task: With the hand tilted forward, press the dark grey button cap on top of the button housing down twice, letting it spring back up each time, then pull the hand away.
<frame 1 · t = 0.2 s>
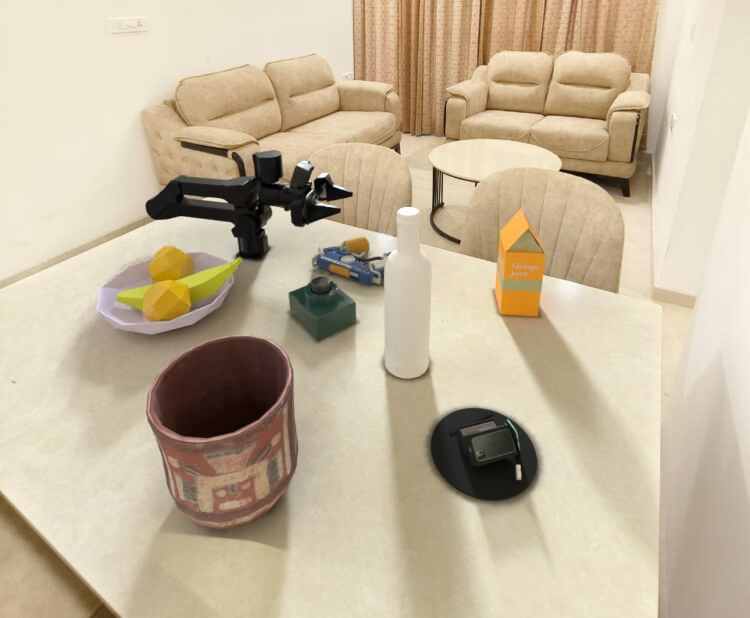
hand: (346, 202, 114), 17 cm above the table, tool horizontal, fingers open, 9 cm apart
dark grey button cap: (320, 285, 99), point 8 cm above the table, slide at 0.1 cm
button housing: (322, 317, 102), on the table
pottery: (238, 485, 68), on the table
blue toy blaster: (359, 266, 120), on the table
fruit bowl: (177, 309, 105), on the table
black round electronic device: (482, 451, 72), on the table
bottle: (406, 364, 89), on the table
orange juice: (515, 303, 106), on the table
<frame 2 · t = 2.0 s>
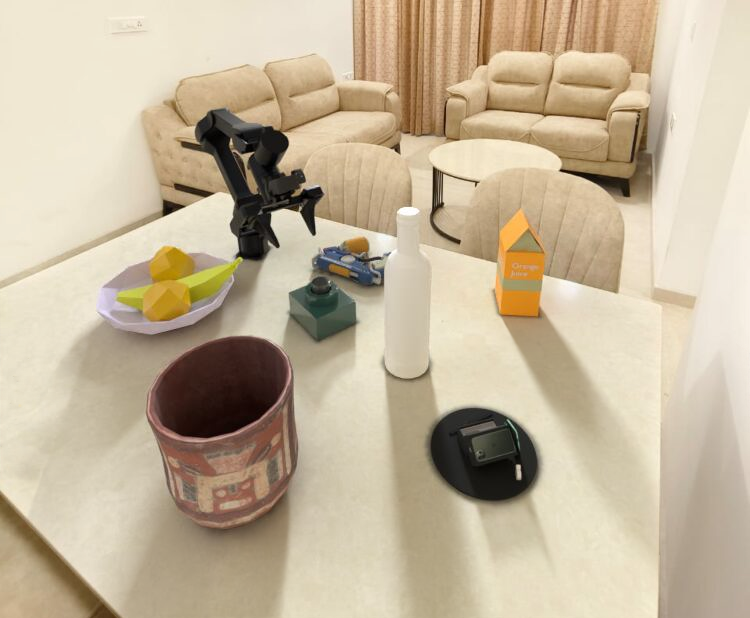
hand: (297, 241, 103), 14 cm above the table, tool tilted 45°, fingers open, 8 cm apart
nothing on the table moved.
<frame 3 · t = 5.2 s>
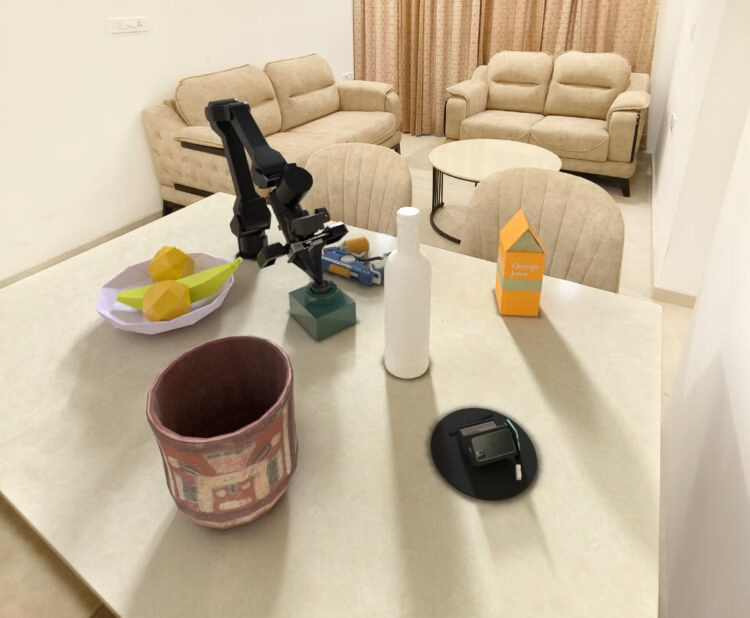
hand: (320, 283, 99), 8 cm above the table, tool tilted 45°, fingers closed, pressing on dark grey button cap
dark grey button cap: (321, 289, 99), point 7 cm above the table, slide at -0.7 cm, touching gripper
everything else where it was.
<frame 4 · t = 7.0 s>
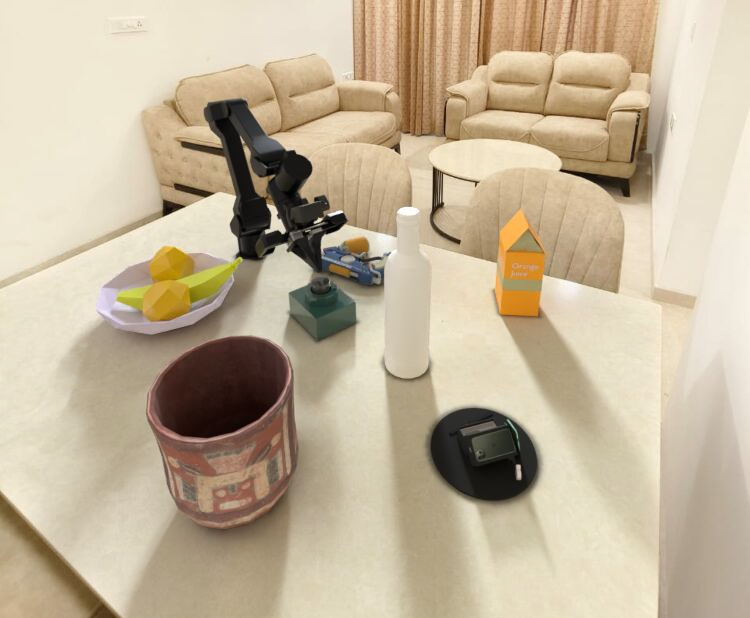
hand: (320, 271, 98), 11 cm above the table, tool tilted 45°, fingers closed
dark grey button cap: (320, 285, 99), point 8 cm above the table, slide at 0.1 cm
everything else where it was.
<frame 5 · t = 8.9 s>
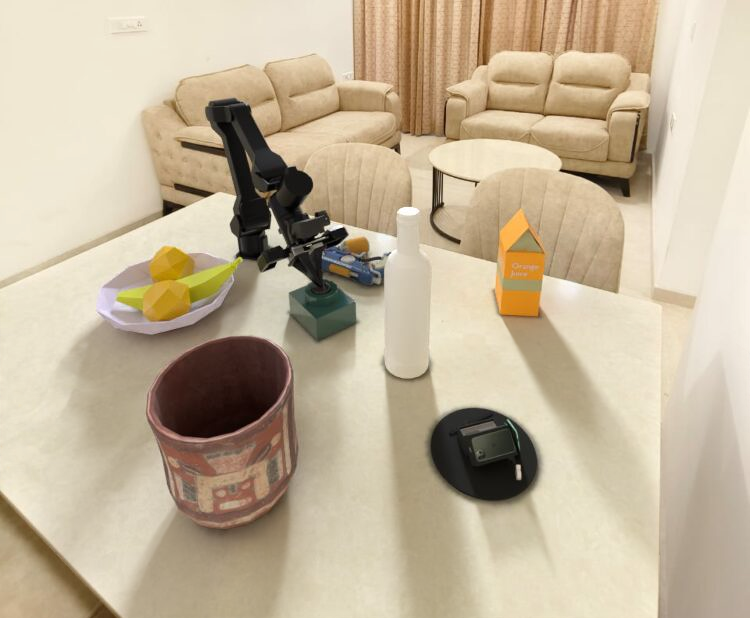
hand: (321, 286, 99), 8 cm above the table, tool tilted 45°, fingers closed, pressing on dark grey button cap
dark grey button cap: (321, 292, 99), point 6 cm above the table, slide at -1.4 cm, touching gripper
everything else where it was.
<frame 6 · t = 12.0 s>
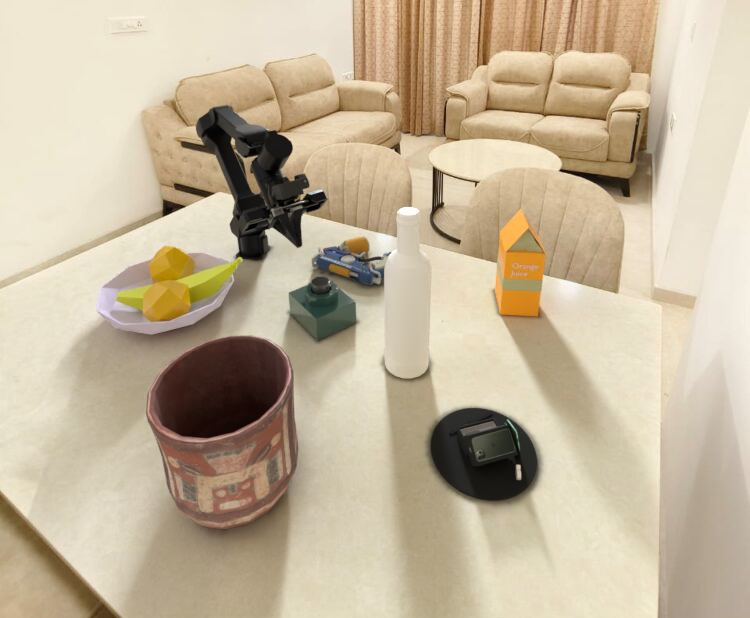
hand: (299, 246, 102), 13 cm above the table, tool tilted 45°, fingers closed
dark grey button cap: (320, 285, 99), point 8 cm above the table, slide at 0.1 cm
everything else where it was.
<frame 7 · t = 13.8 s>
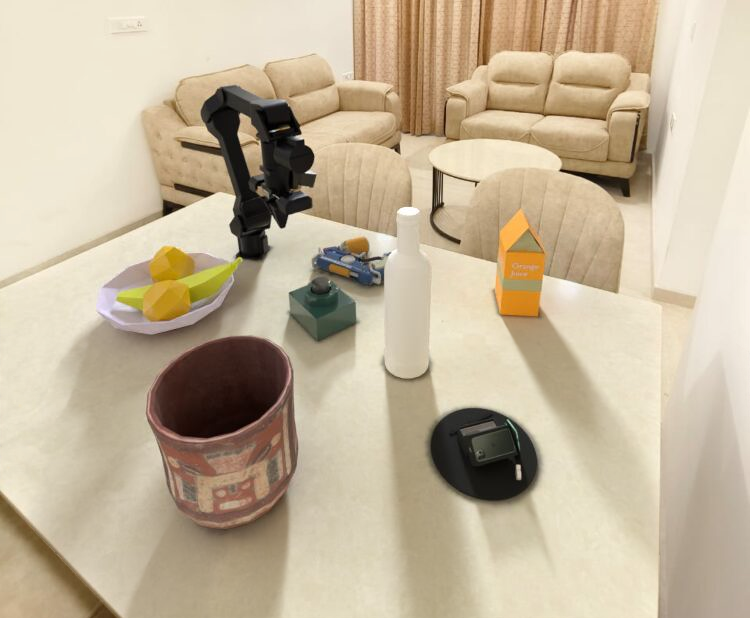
hand: (282, 227, 110), 13 cm above the table, tool pointing down, fingers closed
nothing on the table moved.
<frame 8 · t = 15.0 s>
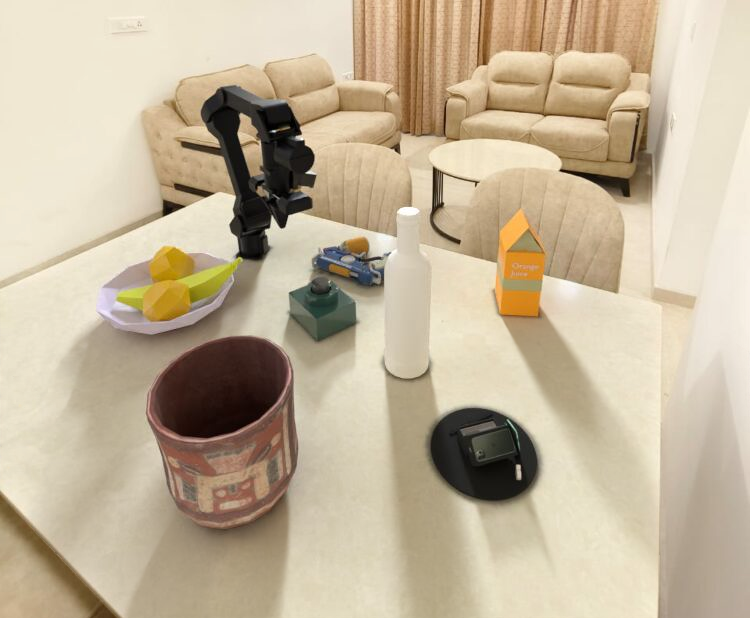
hand: (282, 227, 111), 13 cm above the table, tool pointing down, fingers closed
nothing on the table moved.
at the end: dark grey button cap pushed in 1.4 cm at the most during the clip, back to where it started at the end; dark grey button cap slide at 0.1 cm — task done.
